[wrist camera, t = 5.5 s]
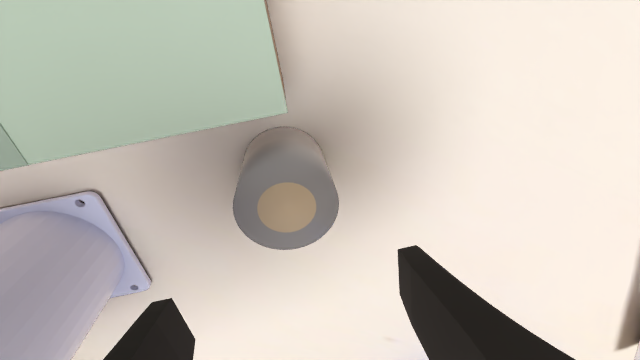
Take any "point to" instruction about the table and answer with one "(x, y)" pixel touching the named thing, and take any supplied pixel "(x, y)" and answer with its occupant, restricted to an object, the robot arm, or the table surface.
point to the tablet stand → (637, 353)
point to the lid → (129, 73)
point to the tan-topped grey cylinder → (285, 190)
